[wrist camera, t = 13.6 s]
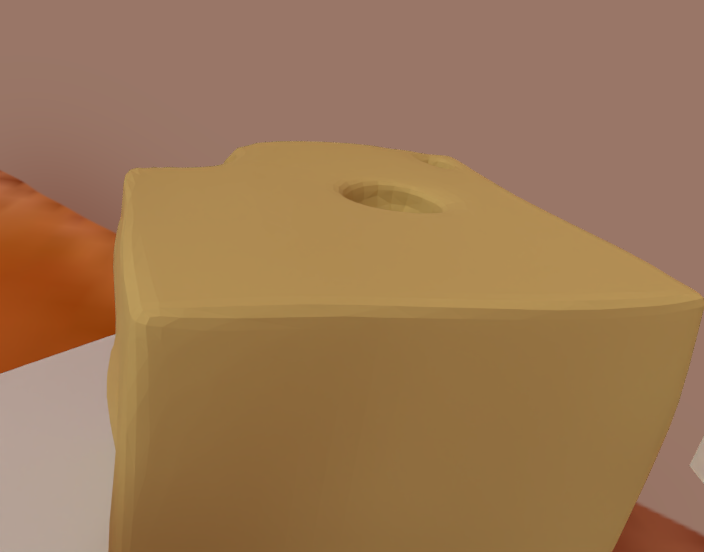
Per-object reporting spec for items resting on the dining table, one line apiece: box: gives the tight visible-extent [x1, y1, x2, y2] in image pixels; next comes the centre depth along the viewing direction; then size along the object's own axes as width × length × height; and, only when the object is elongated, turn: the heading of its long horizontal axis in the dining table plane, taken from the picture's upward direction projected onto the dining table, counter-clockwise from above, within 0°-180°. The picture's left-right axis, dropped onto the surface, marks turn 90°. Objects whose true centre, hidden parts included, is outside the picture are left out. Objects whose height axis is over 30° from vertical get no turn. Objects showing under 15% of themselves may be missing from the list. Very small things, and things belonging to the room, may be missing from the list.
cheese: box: [107, 141, 704, 552], centre depth 15 cm, size 10×11×10 cm
